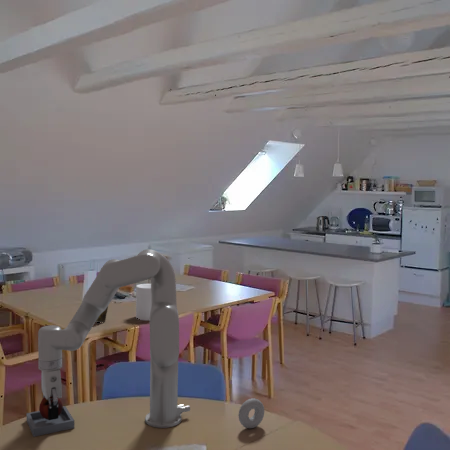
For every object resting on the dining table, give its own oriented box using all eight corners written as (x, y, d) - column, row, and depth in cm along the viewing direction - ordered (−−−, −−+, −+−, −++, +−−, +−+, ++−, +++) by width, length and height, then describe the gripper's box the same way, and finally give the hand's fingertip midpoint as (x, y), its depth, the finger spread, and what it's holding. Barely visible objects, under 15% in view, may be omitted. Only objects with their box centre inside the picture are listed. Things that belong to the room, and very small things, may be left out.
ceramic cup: (90, 320, 311) (90, 304, 311) (107, 319, 314) (107, 303, 314) (91, 325, 299) (91, 308, 298) (109, 324, 302) (109, 307, 301)
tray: (65, 413, 182) (65, 405, 181) (74, 427, 170) (74, 420, 170) (26, 420, 175) (26, 413, 175) (33, 436, 164) (33, 428, 164)
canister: (165, 318, 319) (166, 287, 317) (141, 321, 311) (141, 289, 309) (155, 313, 332) (156, 282, 331) (132, 315, 324) (132, 284, 323)
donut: (260, 422, 177) (261, 394, 177) (266, 426, 174) (266, 397, 174) (236, 428, 172) (236, 400, 171) (241, 433, 169) (242, 403, 169)
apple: (34, 420, 171) (33, 397, 171) (51, 411, 178) (51, 389, 177) (50, 425, 168) (50, 401, 167) (67, 416, 175) (67, 393, 174)
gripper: (67, 369, 166) (68, 422, 167) (56, 354, 181) (56, 402, 182) (43, 373, 162) (44, 427, 163) (33, 357, 177) (34, 406, 178)
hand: (50, 413), depth 172 cm, fingers closed on apple, 7 cm apart
